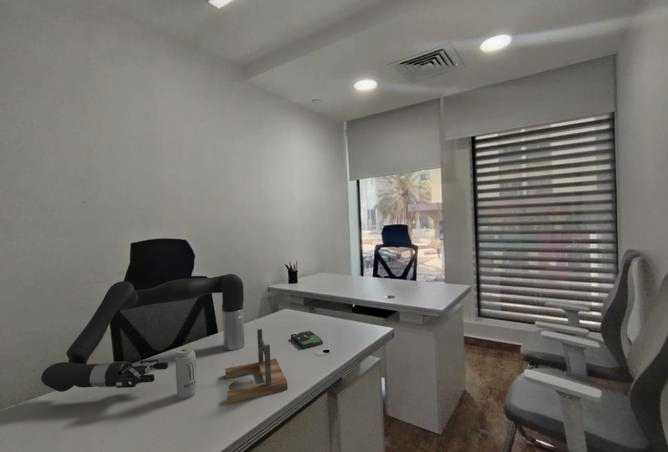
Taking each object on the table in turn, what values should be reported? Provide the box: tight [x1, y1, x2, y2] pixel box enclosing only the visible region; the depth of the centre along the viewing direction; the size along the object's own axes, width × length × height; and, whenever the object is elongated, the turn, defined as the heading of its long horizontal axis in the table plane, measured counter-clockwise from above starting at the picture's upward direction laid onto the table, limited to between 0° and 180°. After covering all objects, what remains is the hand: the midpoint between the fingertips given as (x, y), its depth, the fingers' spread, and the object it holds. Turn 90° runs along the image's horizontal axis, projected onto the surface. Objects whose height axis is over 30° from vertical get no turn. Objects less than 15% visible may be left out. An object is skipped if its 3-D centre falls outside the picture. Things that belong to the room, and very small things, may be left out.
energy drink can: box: [174, 346, 198, 400], centre depth 103 cm, size 6×6×15 cm
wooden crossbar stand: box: [224, 328, 288, 404], centre depth 110 cm, size 20×19×16 cm
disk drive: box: [290, 330, 324, 350], centre depth 145 cm, size 10×3×15 cm
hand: (160, 371), depth 103 cm, fingers open, 8 cm apart
